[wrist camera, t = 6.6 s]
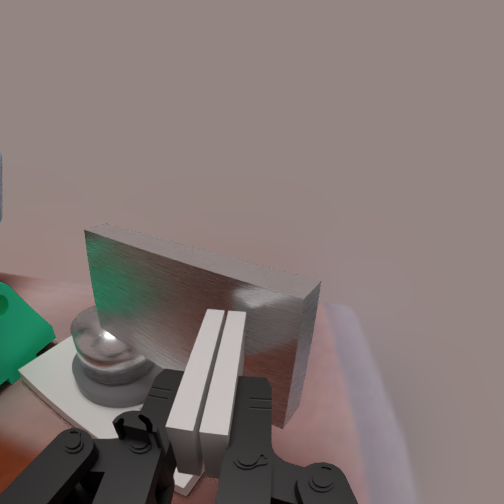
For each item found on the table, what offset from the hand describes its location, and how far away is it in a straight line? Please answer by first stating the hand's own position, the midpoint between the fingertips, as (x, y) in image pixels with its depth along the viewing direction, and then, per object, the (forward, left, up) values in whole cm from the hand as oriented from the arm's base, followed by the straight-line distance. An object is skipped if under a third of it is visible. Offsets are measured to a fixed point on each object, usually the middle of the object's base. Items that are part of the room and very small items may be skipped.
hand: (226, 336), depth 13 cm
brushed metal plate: (-6, +3, -9) cm, 11 cm away
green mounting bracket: (-26, -3, -13) cm, 29 cm away
